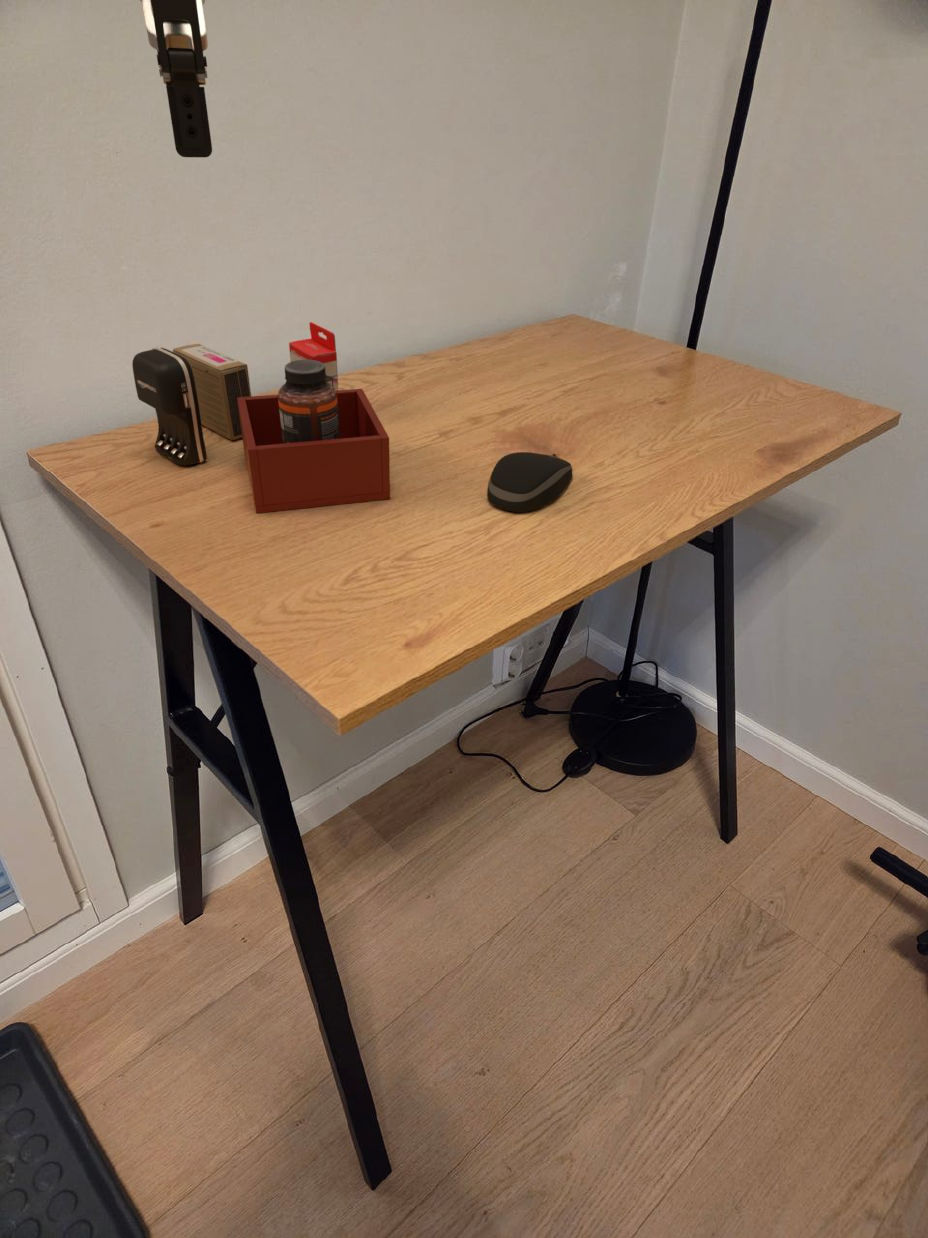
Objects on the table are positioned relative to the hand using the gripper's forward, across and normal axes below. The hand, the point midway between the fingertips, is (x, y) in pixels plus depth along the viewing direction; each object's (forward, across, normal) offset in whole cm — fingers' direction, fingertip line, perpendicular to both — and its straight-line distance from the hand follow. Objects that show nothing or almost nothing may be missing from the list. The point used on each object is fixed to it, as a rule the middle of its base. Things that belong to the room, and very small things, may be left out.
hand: (192, 147), depth 53 cm
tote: (+32, -14, +8) cm, 36 cm away
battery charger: (+32, -22, -6) cm, 40 cm away
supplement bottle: (+32, -14, +8) cm, 35 cm away
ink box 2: (+32, -32, +11) cm, 47 cm away
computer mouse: (+32, -6, +30) cm, 44 cm away
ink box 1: (+32, -30, -1) cm, 44 cm away
